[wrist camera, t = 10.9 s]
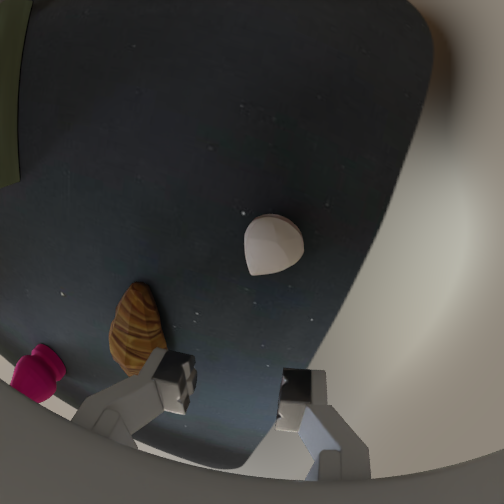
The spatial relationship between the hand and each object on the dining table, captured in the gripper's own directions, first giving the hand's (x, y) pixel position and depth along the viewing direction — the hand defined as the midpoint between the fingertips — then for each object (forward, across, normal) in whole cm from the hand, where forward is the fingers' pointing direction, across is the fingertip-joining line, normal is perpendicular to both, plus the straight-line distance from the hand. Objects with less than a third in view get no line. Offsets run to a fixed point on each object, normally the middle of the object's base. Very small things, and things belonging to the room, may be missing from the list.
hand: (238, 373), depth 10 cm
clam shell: (+13, 0, 0) cm, 13 cm away
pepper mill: (+13, +32, +22) cm, 41 cm away
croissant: (+13, +12, +11) cm, 21 cm away
